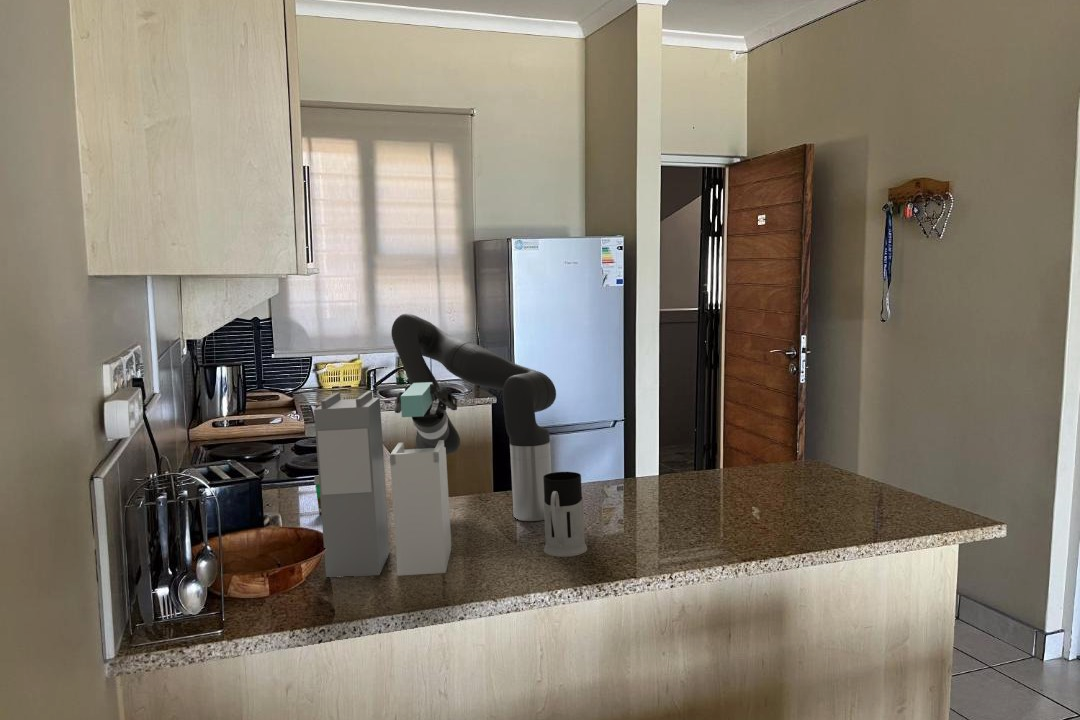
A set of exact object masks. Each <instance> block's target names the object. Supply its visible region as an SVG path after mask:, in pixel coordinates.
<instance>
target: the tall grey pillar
mask: <svg viewBox="0 0 1080 720" xmlns="http://www.w3.org/2000/svg"><path fill="white" fill-rule="evenodd" d="M380 399H381V398H380V397H374V396H373V390H367V391H366V392H365V393H362V394H361V395H360V396H358V397H357V398H350V399H341V392H338V391H337V392H334V393H333V394H330V395H329V396H327V397H326V398H324V399H323V400H321V401H320V405H319V406H318V407H316V408H314V409H313V414H314V415H313V416H314V430H315V440H316V441H315V443H316V456H317V457H316V458H317V470H318V476H319V486H320V500H321V514H322V515H321V524H322V525H321V526H322V537H323V549H324V548H327V550H326V551H325V553H324V568H325V578H326V577H337V576H338V578H343V577H342V576H354V577H365V576H366V577H369V576H380V575H381V574H382V571H383V568H384V566H385V564H386V563H387V560H388V558H389V556H390V554H389V553H391V552H390V551H391V550H390V548H391V547H390V534H389V520H388V503H387V502H388V500H387V489H386V488H387V487H386V473H385V472H386V471H385V459H384V441H383V440H384V439H383V429H382V427H383V426H382V413H381V410H382V409H381V400H380ZM388 555H389V556H388ZM339 576H341V577H339Z"/></svg>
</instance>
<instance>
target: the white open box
mask: <svg viewBox="0 0 1080 720" xmlns="http://www.w3.org/2000/svg"><path fill="white" fill-rule="evenodd" d="M404 443H405V442H398V443H397V444H396V446H395V447H394V448H393V449H392V451H391V453H390V454H389V464H390V478H391V480H390V481H391V495H392V496H391V497H392V510H393V513H392V514H393V524H394V525H393V528H394V539H395V540H394V541H395V543H394V544H395V555H396V556H395V557H396V558H395V559H396V560H395V561H396V571H397V572H396V573H397V576H400V577H401V576H416V575H428V574H432V575H434V574H445V573H447V569H448V565H449V561H450V556H451V551H452V548H451V547H452V533H451V516H450V515H451V514H450V502H449V501H450V500H449V484H448V483H449V482H448V480H449V479H448V468H447V467H448V466H447V465H448V464H447V455H446V447H444V440H440V441H438V443H437V445H436V447H435V448H424V449H417V448H408V449H405V444H404Z"/></svg>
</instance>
